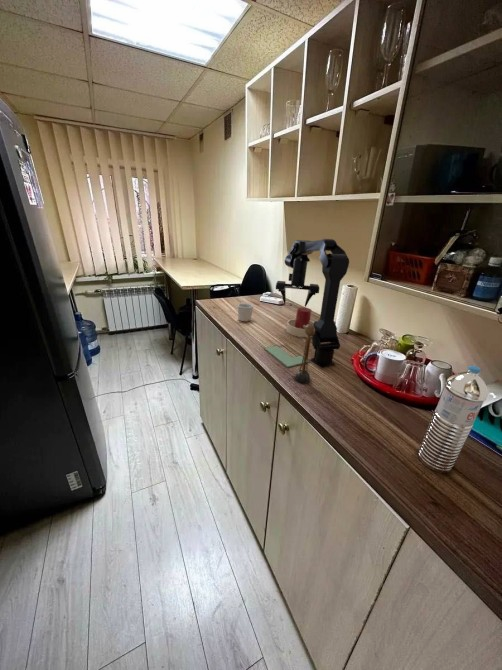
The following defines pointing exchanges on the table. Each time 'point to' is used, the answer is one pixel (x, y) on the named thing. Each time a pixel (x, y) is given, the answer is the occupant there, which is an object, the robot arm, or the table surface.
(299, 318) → the can
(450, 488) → the table surface
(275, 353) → the mat
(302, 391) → the table surface
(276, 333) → the table surface
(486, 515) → the table surface
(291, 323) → the bowl
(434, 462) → the water bottle
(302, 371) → the wooden tabletop sculpture
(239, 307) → the cup
